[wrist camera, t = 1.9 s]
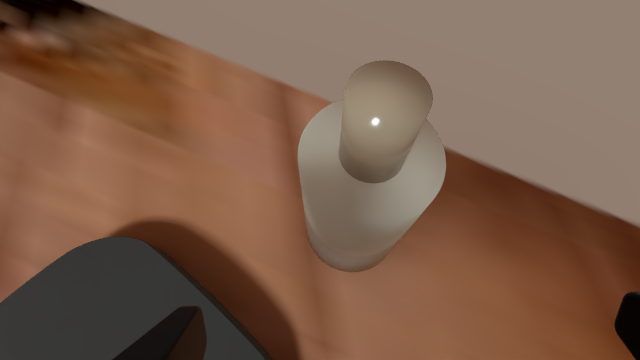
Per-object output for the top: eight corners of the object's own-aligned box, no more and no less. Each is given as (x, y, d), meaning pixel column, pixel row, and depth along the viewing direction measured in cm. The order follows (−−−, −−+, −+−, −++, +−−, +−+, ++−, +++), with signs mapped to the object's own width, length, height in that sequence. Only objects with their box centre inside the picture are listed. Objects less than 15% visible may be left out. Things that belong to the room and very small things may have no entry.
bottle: (409, 253, 19) (530, 143, 8) (324, 285, 18) (330, 211, 7) (373, 176, 21) (429, 8, 10) (295, 202, 21) (267, 49, 10)
